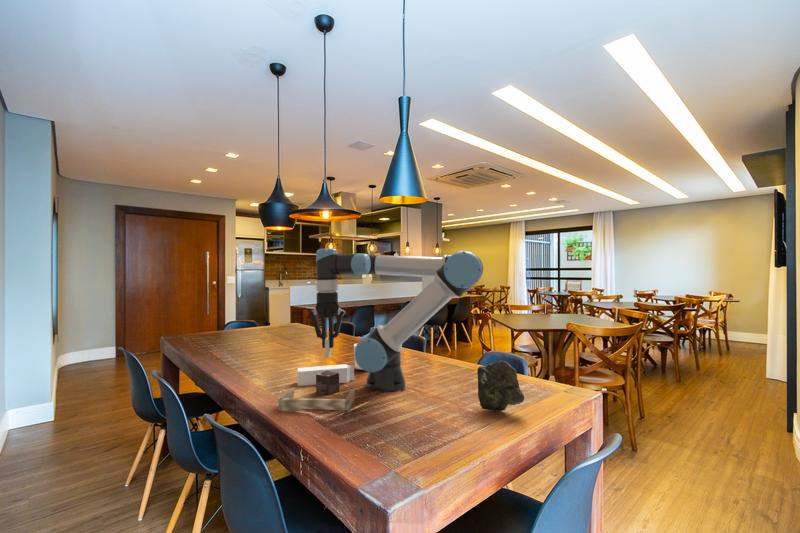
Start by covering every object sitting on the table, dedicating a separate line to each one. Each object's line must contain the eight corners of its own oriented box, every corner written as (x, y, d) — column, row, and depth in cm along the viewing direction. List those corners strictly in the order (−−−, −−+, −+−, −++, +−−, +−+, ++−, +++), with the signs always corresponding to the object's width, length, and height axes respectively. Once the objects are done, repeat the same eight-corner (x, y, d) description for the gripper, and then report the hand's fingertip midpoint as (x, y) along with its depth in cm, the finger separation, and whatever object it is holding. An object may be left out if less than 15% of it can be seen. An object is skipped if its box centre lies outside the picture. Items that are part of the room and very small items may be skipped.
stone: (474, 411, 121) (473, 364, 121) (481, 401, 130) (481, 356, 130) (522, 419, 115) (522, 368, 115) (526, 407, 124) (526, 360, 124)
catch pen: (355, 400, 131) (355, 388, 131) (348, 413, 120) (348, 400, 120) (290, 399, 133) (290, 388, 133) (278, 412, 121) (278, 399, 121)
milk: (297, 367, 152) (352, 363, 158) (297, 383, 152) (353, 377, 158) (297, 371, 146) (355, 366, 152) (297, 387, 146) (355, 382, 152)
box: (339, 392, 140) (339, 372, 140) (328, 397, 135) (328, 376, 135) (327, 389, 143) (327, 370, 143) (315, 394, 138) (315, 374, 138)
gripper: (347, 290, 142) (348, 354, 142) (312, 291, 143) (313, 354, 143) (342, 292, 135) (343, 359, 135) (306, 292, 135) (307, 359, 135)
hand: (328, 356), depth 139 cm, fingers closed
